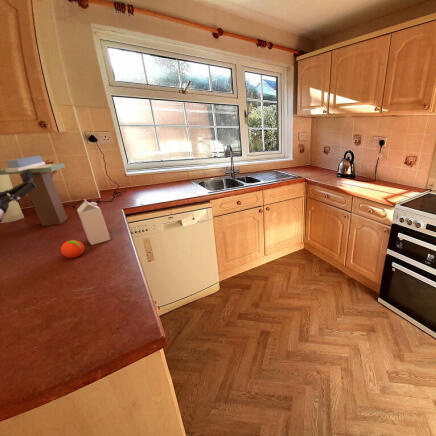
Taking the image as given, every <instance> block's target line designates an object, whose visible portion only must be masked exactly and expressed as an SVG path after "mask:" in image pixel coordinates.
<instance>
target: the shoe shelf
mask: <svg viewBox="0 0 436 436" xmlns="http://www.w3.org/2000/svg"><path fill="white" fill-rule="evenodd" d="M65 165H66V164H65V163H64V162H61V163H45V164H44V165H41V166H37V167H33V168H30V169H26V170H22V171H17V172H6V170H5V169H8V168H9V167H6V168H3V169H0V176H3V175H18V174H19V177H20V178H21V181H22V182H23V179H24V177H25V175H26V173H27V171H30V173H31V174H32V175H33V177H32V179H33V181H32V182H33V183H34V184H35V186H36V187H35V188H34V189H33V190H32V191H30V192H29V193H28V194H27V195H28V198H29V199H30V201H31V204H32V206H33V208H34V211H35V213H36V216H37V217H38V220H39V222H40V224H41V226H42V227H45V226H46V227H47V226H53V225H55V226H56V225H61V224H62V223H64V222H66V221H67V220H68V216H67V212H66V210H65V208H64V206H63V203H62V201H61V198H60V195H59V193H58V189H57V188H56V185H55V182H54V180H53V177H52V175H51V172H55V171H58V170H60V169H64V168H66V166H65Z"/></svg>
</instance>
